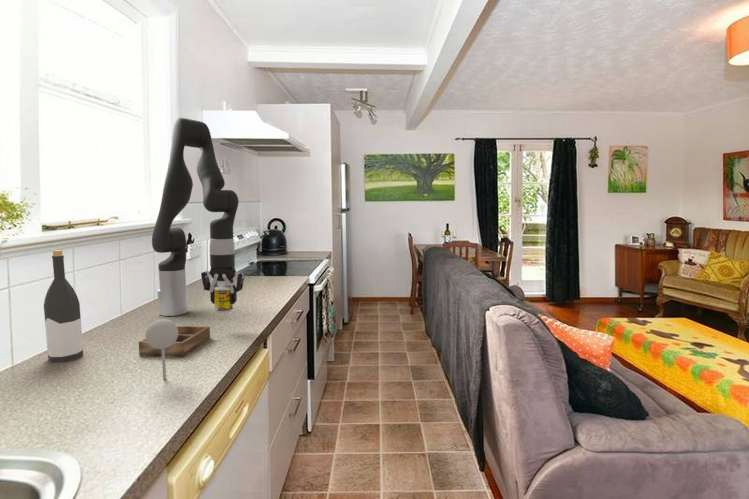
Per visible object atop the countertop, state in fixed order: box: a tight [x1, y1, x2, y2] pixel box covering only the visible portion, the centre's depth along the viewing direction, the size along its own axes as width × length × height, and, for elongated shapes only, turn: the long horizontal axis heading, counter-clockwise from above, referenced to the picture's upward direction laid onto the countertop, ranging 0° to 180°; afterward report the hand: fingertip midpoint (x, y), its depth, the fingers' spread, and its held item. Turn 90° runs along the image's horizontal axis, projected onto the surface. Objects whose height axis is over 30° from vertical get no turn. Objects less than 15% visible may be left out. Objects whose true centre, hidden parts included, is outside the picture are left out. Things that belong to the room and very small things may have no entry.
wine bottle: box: [43, 249, 84, 363], centre depth 118 cm, size 8×8×30 cm
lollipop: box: [145, 318, 178, 381], centre depth 104 cm, size 7×7×15 cm
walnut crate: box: [138, 325, 211, 358], centre depth 128 cm, size 13×16×4 cm
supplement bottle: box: [214, 281, 234, 314], centre depth 140 cm, size 6×6×10 cm
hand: (223, 303), depth 140 cm, fingers closed on supplement bottle, 5 cm apart
